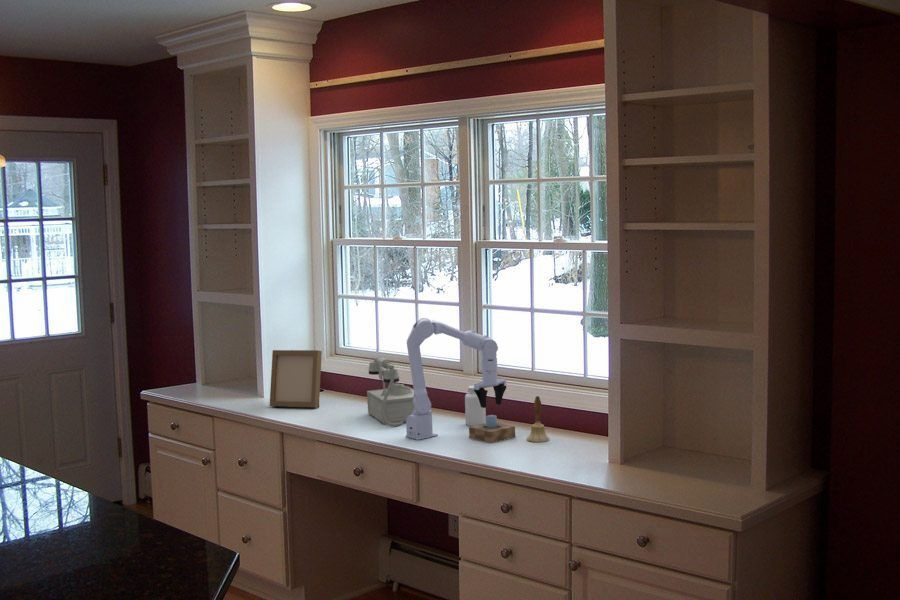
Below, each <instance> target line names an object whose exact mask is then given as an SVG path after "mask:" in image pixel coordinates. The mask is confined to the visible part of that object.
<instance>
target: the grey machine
mask: <svg viewBox="0 0 900 600" xmlns="http://www.w3.org/2000/svg"><path fill="white" fill-rule="evenodd" d="M372 360H373V361H370V362H369V366H368V375H374V376H375V375H377V376H378V378H379V380H380V381H382V387H383V388H382V389H381V388H380V389H372V390H367V391H366V397H367V399H366V400H367V414H368V413H369V414H368V415H370V414H371V415H372V416H371V415H370V416H371V417H373V416H374V417H375V418H374V417H373V418H374V419H376V420H377V419H378V420H379V422H380V421H381V422H382V423H381V422H380V423H381V424H383V423H384V424H383V425H387V426H389V427H394V426H395V427H399V426H398V425H400V426H402V425H403V424H404V423H406V419H407V417H408V416H409V415H411V414H412V413H413V410H414V409H415V407H414V405H413V397H414V389H413V388H411V387H410V386H406V385H405V384H404V383H403V384H401V383H398V382H400V376H399V371H398V369H397V368H395V365H393V364H392V363H391V361H390V360H389V359H387V358H384V357H383V356H378V357H376V356H372ZM386 384H388V387H387V388H386ZM378 420H377V421H378ZM401 424H402V425H401Z"/></svg>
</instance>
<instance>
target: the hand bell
mask: <svg viewBox="0 0 900 600" xmlns="http://www.w3.org/2000/svg"><path fill="white" fill-rule="evenodd" d="M533 409H534V412H535V423H533V424H532V425H531V430H530V434H529V435H528V436H527V438H526V441H527V440H528V442H530V441H531V443H545V442H544V441H546V442H549V441H550V440H549V439H550V437H549V436H548V435H547V433H546V429H545V425H544V424H542V423H541V410H542V401H541V399H540V396H538V395H536V396H535V399H534V402H533ZM548 440H549V441H548Z"/></svg>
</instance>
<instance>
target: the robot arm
mask: <svg viewBox="0 0 900 600" xmlns="http://www.w3.org/2000/svg"><path fill="white" fill-rule="evenodd" d="M433 334H434V335H436V336H437V335H439V334H443V335H446V336H449V337H452V338H455V339H458V340H461V342H462V344H463V346H467V347H469V348H471V349H474V350H477V351H481V375H482V379H481V380H482V381H480V382H477V383H474V384H473V386H474V391H475V393H476V395H477V397H478V399H479V402H480V405H481V407H482V408H486V409H487V395H488V390H487V389H486V388H491V387H492V389H493V390H494V391H493V392H494V396H495V398H494V399H495V405H502V402H503V401H502V400H503V397H504V393H505V392H506V389H507V379H506V378H500V379H498V377H499V376H498V358H497V352H498V350H499V346H498V344H497V341H495V340H494V339H493V338H491V337H490V336H489V337H488V335H485V334H484V335H483V334H479V333H477V332H476V331H475V330H473V329H471V330H470V329H469V330H466V331H462V330H460V329H457V328H455V327H453V326H450V325H448V324H445V323H443V322H441V321H437V320H435V319H429V318H427V317H421V318H419V319H418V320H417V321H416V322H415V323H414V324H413V326H412V328H411V331H410V333H409V335H408V337H407V340H406V348H407V353H408V359H409V360H408V362H409V367H410V373H411V380H412V381H411V382H412V385H413V386H412V387H413V388H412V389H414V397H413V405H414V407H415V409H414V410H413V413H412V414H411V415H409V416H408V417H407V419H406V422H405V424H406V425H405V426H406V435H405V438H409V439H413V440H424V439H428V438H431V437H437V436H438V433H434V432H433V413H432V412H433V411H432V409H431V408H432V402H431V400H430V398H429V396H428V391H427V388H426V387H427V386H426V379H425V373H424V367H423V361H422V360H423V359H422V355H421V354H422V353H421V348H420V347H421V345H422V344H423V343H424V341H425V340H427V339H428V338H429V337H432V335H433Z"/></svg>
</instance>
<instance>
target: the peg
mask: <svg viewBox="0 0 900 600" xmlns="http://www.w3.org/2000/svg"><path fill="white" fill-rule="evenodd" d="M497 423H498V418H497V415H495V414H488V415H487V414H486V428H488V429H494V428H497Z"/></svg>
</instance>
